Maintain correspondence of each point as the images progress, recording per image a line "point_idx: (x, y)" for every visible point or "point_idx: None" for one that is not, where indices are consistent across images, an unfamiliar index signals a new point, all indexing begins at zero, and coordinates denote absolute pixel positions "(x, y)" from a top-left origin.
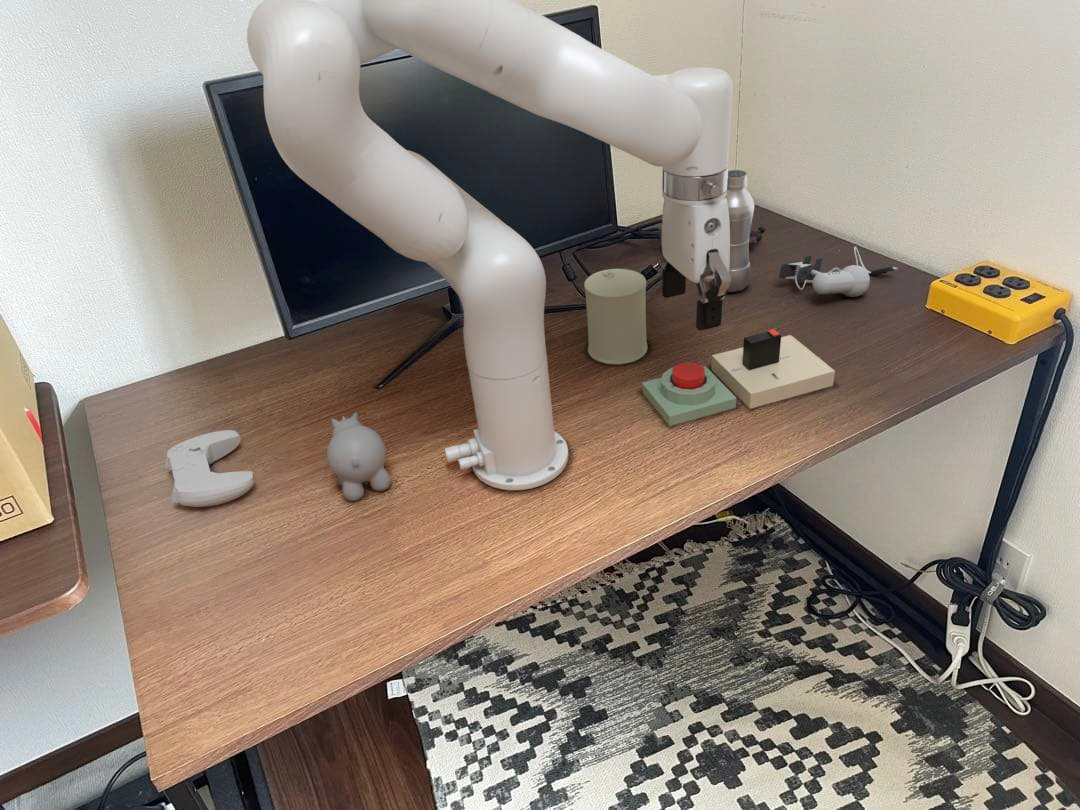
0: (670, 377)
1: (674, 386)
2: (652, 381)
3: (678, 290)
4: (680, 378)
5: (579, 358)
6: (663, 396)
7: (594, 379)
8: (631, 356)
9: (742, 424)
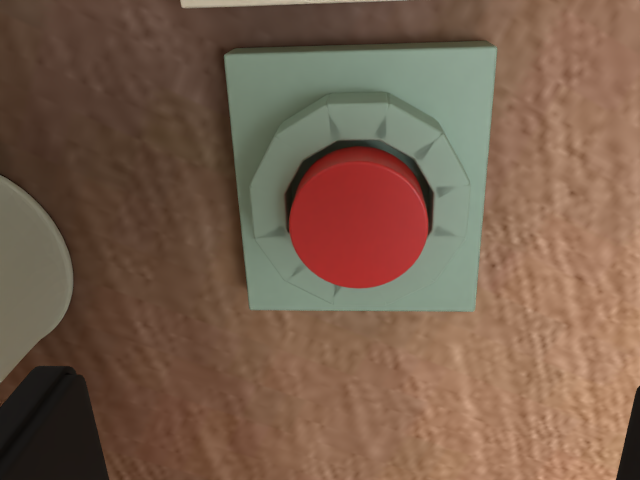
0: None
1: None
2: (256, 278)
3: (75, 444)
4: (394, 277)
5: None
6: None
7: (137, 378)
8: (55, 260)
9: (589, 69)
